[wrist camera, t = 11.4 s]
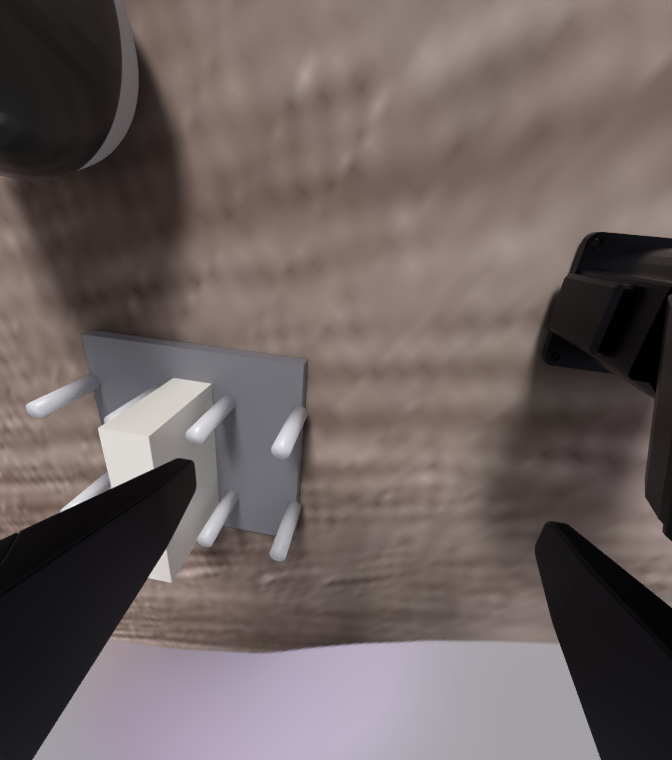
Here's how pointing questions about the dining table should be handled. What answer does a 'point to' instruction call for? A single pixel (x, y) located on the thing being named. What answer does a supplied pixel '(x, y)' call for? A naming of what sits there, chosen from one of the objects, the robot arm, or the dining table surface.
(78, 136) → the pump dispenser
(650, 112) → the dining table surface
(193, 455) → the tile
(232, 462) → the rack
